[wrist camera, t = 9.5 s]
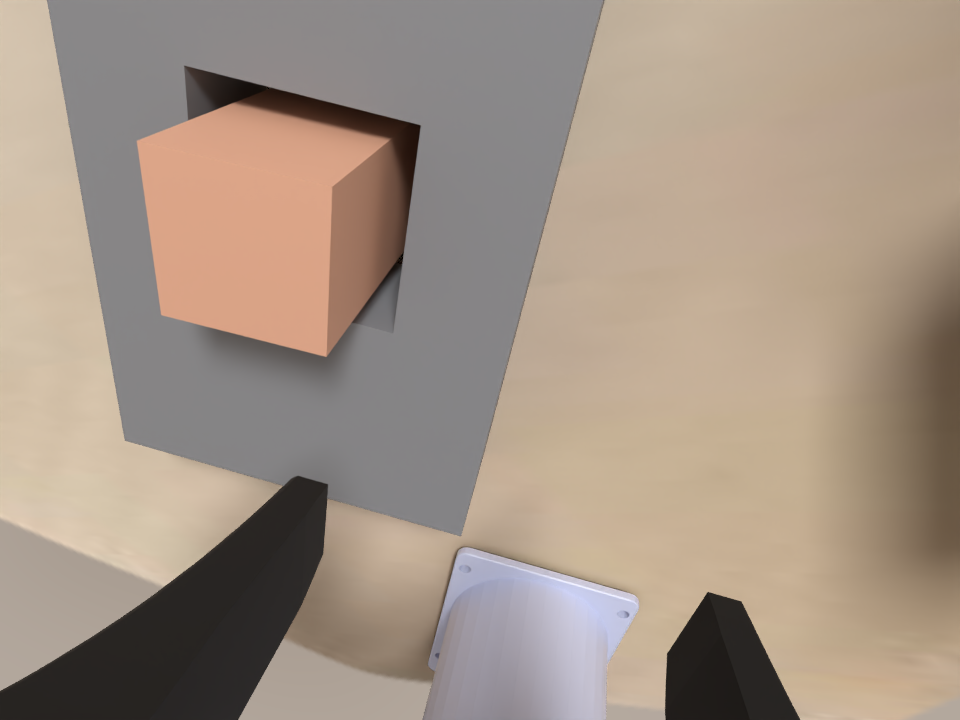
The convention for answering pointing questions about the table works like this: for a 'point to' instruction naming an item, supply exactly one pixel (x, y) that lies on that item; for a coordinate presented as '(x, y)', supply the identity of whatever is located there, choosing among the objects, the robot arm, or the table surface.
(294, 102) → the peg
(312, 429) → the socket board
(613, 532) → the table surface
